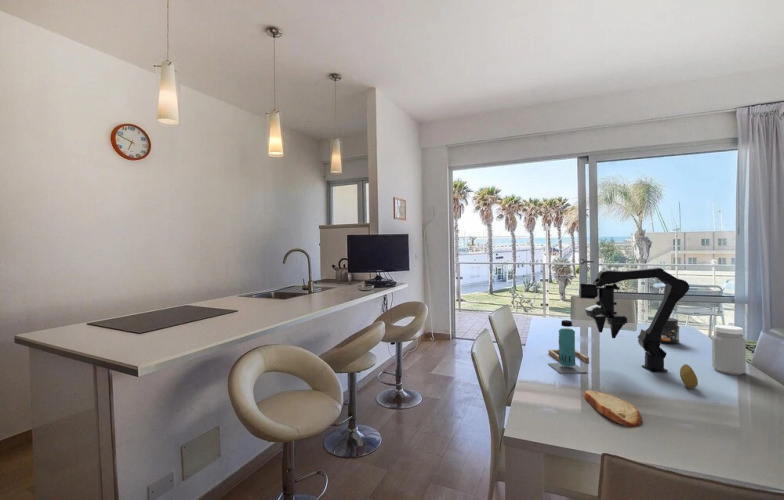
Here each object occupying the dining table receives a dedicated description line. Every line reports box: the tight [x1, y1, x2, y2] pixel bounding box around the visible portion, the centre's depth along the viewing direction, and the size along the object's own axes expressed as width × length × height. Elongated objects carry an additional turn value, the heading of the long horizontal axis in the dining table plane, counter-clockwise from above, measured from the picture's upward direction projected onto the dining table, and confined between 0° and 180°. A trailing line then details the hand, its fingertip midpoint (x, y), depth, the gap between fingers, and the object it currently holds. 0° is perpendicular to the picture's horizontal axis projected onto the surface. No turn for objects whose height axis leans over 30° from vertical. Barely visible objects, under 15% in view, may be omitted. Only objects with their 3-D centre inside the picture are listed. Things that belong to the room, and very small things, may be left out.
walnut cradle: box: [547, 349, 590, 363], centre depth 162 cm, size 12×12×2 cm
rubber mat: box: [547, 362, 588, 375], centre depth 149 cm, size 11×11×1 cm
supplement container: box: [661, 317, 680, 345], centre depth 182 cm, size 10×10×12 cm
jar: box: [711, 324, 747, 376], centre depth 141 cm, size 10×10×18 cm
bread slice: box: [582, 389, 643, 428], centre depth 113 cm, size 18×18×4 cm
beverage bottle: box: [558, 319, 577, 366], centre depth 148 cm, size 6×7×20 cm
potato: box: [679, 364, 699, 389], centre depth 127 cm, size 7×8×8 cm
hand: (606, 335), depth 151 cm, fingers open, 9 cm apart
